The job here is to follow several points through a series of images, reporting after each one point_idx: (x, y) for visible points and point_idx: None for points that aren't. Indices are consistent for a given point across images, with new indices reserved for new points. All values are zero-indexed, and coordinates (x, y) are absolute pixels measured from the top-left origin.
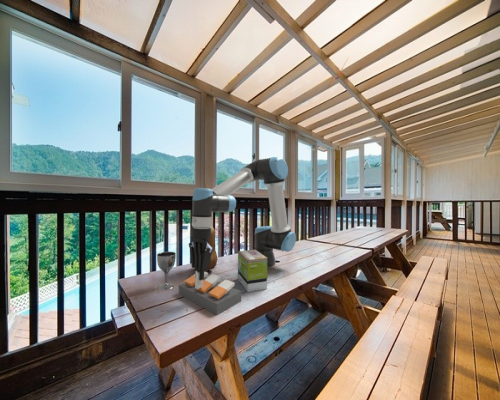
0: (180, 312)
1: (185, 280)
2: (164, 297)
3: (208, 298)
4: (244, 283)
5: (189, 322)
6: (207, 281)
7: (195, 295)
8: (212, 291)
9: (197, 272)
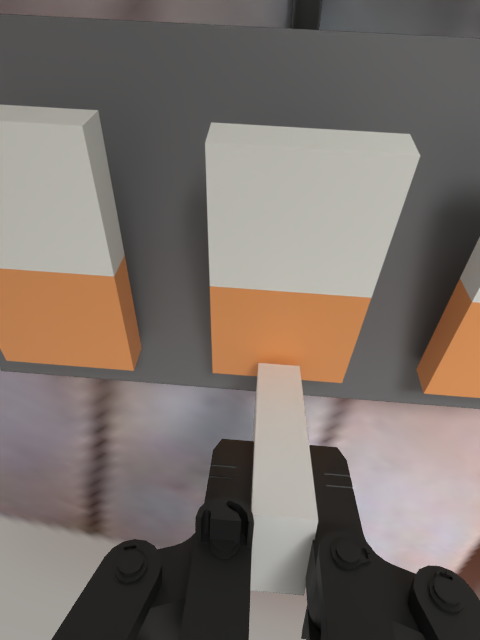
0: None
1: (10, 354)
2: (28, 404)
3: (432, 394)
4: None
5: (395, 477)
6: (274, 290)
7: None
8: (459, 379)
9: (289, 585)
